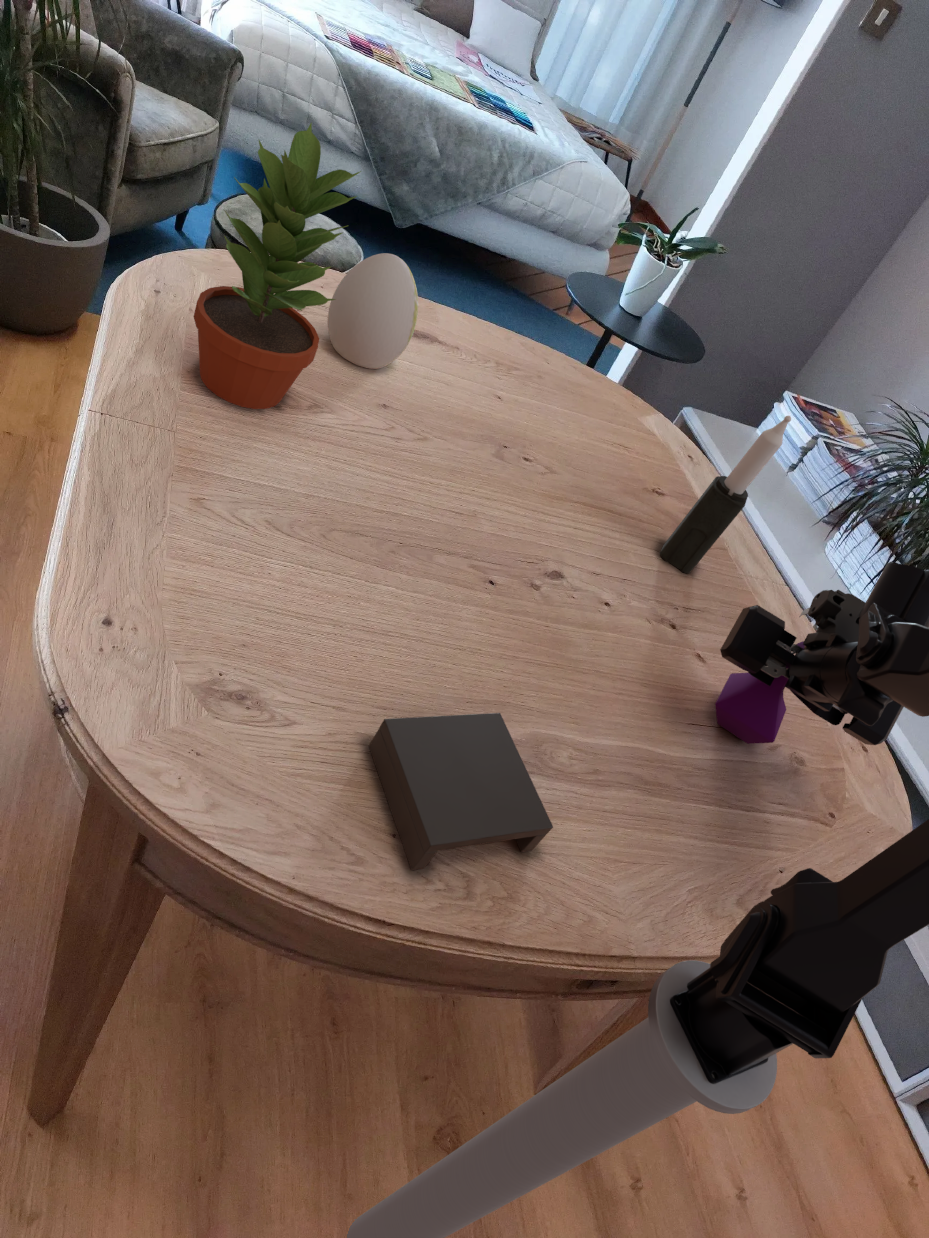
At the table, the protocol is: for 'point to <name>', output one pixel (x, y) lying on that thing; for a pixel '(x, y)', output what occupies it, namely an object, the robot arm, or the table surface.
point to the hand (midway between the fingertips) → (776, 677)
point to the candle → (720, 504)
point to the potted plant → (270, 283)
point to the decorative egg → (374, 311)
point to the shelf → (456, 784)
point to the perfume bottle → (752, 706)
